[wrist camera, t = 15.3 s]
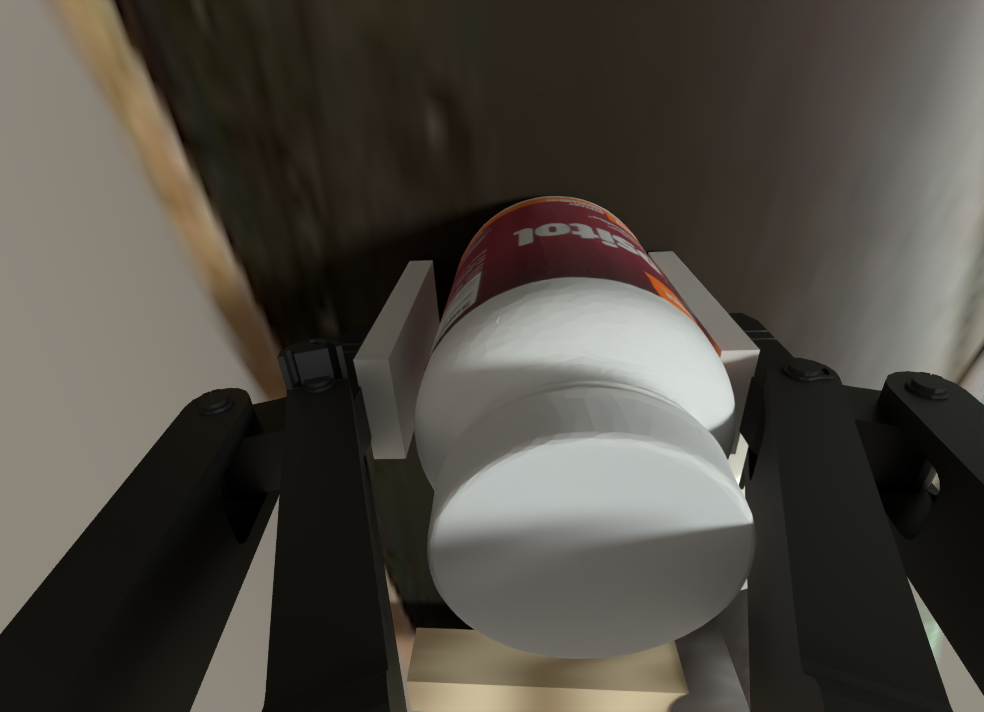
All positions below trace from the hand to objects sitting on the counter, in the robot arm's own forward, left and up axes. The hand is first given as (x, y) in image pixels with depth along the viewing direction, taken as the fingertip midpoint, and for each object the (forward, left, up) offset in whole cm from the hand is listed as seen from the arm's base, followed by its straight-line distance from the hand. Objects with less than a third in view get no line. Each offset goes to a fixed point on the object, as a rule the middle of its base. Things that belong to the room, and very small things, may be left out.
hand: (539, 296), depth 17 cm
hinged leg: (+18, +1, 0) cm, 18 cm away
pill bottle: (0, 0, 0) cm, 1 cm away
